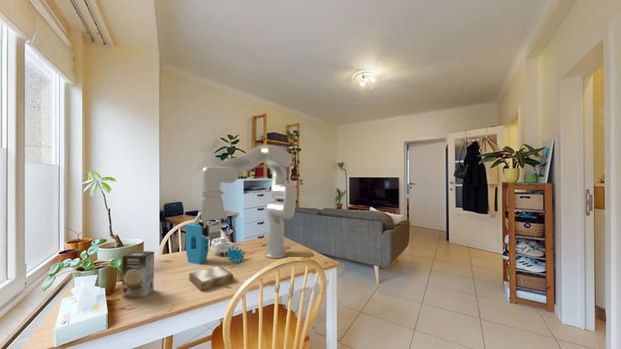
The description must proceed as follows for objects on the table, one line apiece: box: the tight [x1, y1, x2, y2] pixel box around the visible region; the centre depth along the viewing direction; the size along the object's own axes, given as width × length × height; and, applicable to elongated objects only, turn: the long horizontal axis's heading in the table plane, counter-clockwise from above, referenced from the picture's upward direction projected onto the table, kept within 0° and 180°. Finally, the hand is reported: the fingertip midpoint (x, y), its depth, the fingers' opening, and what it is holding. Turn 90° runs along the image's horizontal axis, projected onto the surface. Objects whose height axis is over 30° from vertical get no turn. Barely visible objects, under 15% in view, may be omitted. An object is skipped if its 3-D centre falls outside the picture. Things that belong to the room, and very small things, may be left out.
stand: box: [188, 265, 234, 292], centre depth 114 cm, size 14×14×3 cm
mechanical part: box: [211, 233, 234, 255], centre depth 151 cm, size 11×12×12 cm
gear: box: [226, 245, 246, 264], centre depth 139 cm, size 11×6×10 cm
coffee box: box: [121, 250, 155, 298], centre depth 102 cm, size 9×6×16 cm
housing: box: [202, 221, 222, 241], centre depth 114 cm, size 5×8×6 cm, turn 44°
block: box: [185, 222, 210, 265], centre depth 137 cm, size 12×5×20 cm, turn 69°
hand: (211, 234), depth 114 cm, fingers closed on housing, 5 cm apart
